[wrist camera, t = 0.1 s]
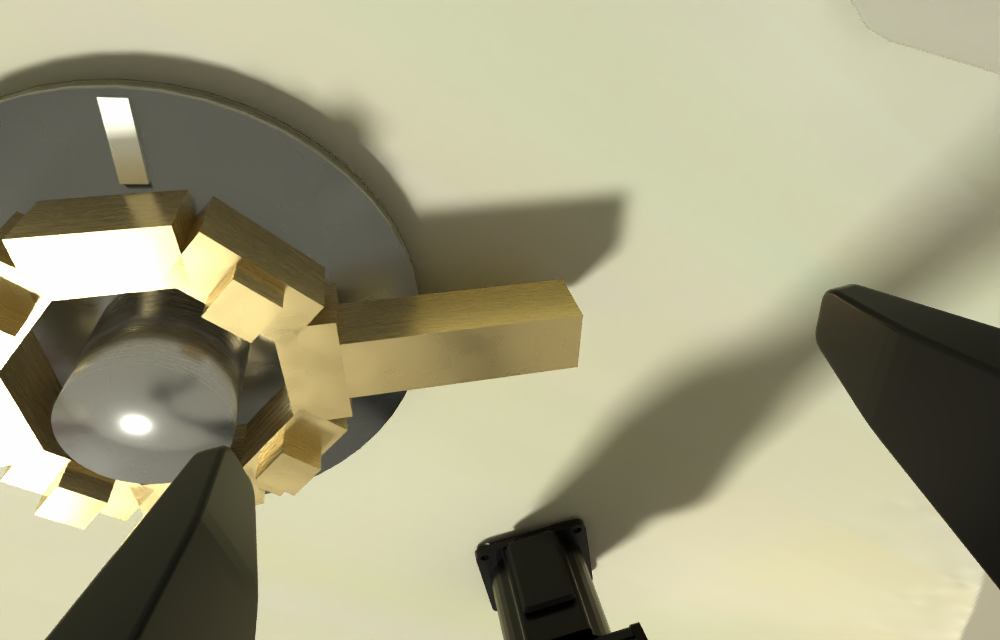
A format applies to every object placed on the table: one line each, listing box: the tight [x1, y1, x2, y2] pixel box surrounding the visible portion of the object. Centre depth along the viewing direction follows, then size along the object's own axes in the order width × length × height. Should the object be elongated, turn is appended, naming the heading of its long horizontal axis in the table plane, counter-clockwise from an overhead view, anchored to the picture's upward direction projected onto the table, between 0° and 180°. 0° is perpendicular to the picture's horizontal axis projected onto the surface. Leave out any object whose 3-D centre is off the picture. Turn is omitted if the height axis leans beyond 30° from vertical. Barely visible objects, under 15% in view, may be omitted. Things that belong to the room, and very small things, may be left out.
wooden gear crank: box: [0, 189, 583, 529], centre depth 22 cm, size 20×12×4 cm, turn 89°
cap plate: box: [0, 79, 419, 494], centre depth 21 cm, size 18×18×6 cm
